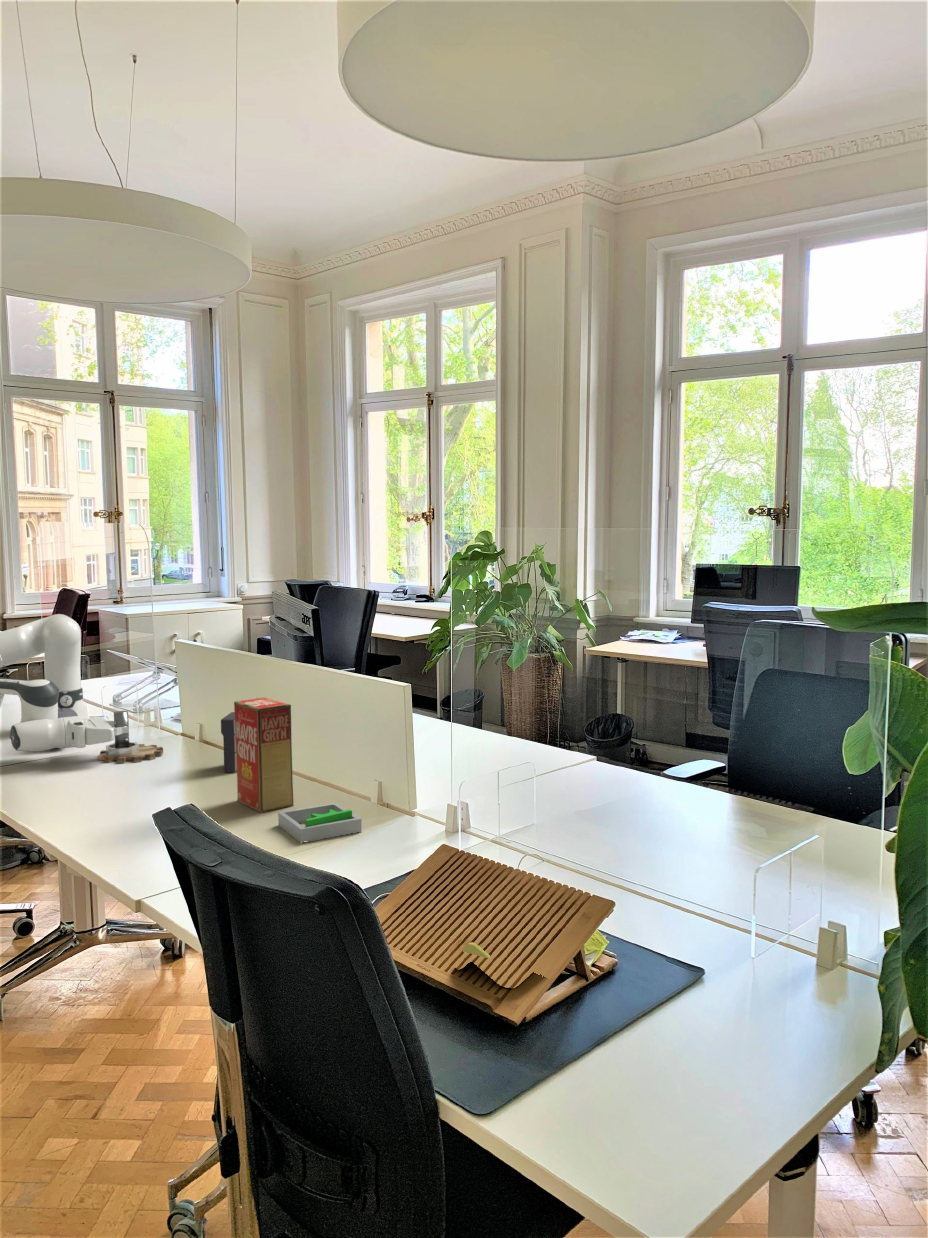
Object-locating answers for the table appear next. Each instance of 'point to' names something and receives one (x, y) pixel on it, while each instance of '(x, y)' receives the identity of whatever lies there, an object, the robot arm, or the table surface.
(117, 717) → the pin
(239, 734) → the food packaging
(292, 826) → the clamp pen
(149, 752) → the sprocket
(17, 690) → the robot arm
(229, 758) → the charcoal rounded block
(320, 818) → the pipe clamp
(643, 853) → the table surface
